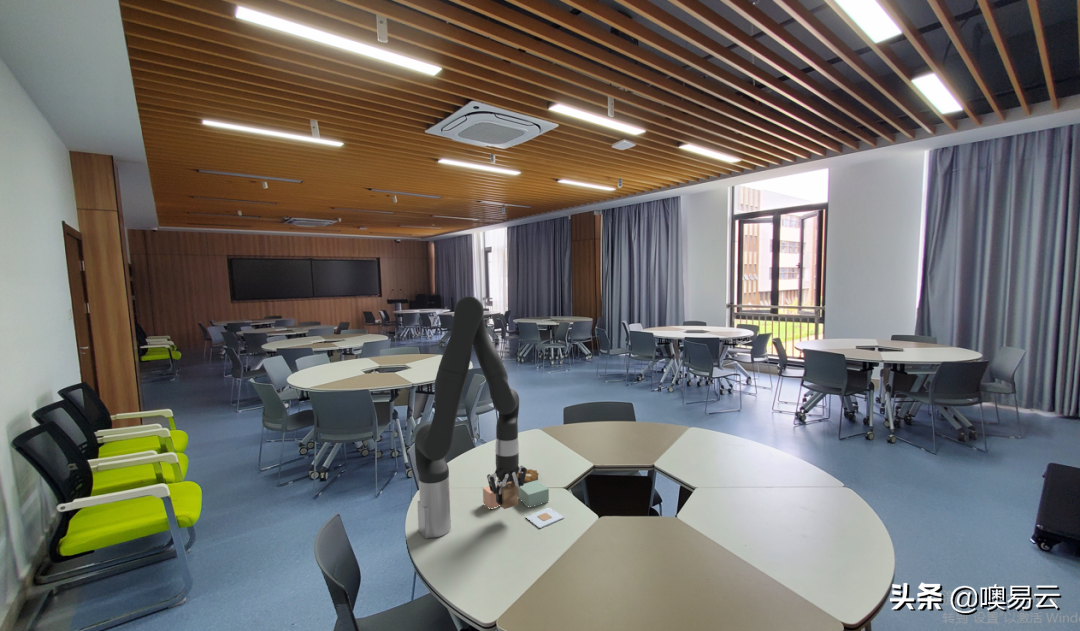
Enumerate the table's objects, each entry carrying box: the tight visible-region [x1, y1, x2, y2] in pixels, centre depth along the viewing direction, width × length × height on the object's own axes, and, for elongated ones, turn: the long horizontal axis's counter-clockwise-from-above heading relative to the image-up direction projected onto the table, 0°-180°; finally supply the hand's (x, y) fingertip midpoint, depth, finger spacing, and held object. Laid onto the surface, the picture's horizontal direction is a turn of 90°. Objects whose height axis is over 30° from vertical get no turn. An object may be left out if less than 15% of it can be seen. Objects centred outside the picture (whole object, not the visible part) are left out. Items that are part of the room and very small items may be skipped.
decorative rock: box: [516, 468, 539, 484], centre depth 170 cm, size 11×4×15 cm
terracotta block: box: [482, 484, 499, 510], centre depth 152 cm, size 5×5×6 cm
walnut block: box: [499, 482, 519, 510], centre depth 142 cm, size 5×5×6 cm
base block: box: [518, 479, 550, 507], centre depth 155 cm, size 8×8×5 cm
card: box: [524, 506, 565, 529], centre depth 143 cm, size 10×8×1 cm
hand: (507, 501), depth 143 cm, fingers closed on walnut block, 5 cm apart
